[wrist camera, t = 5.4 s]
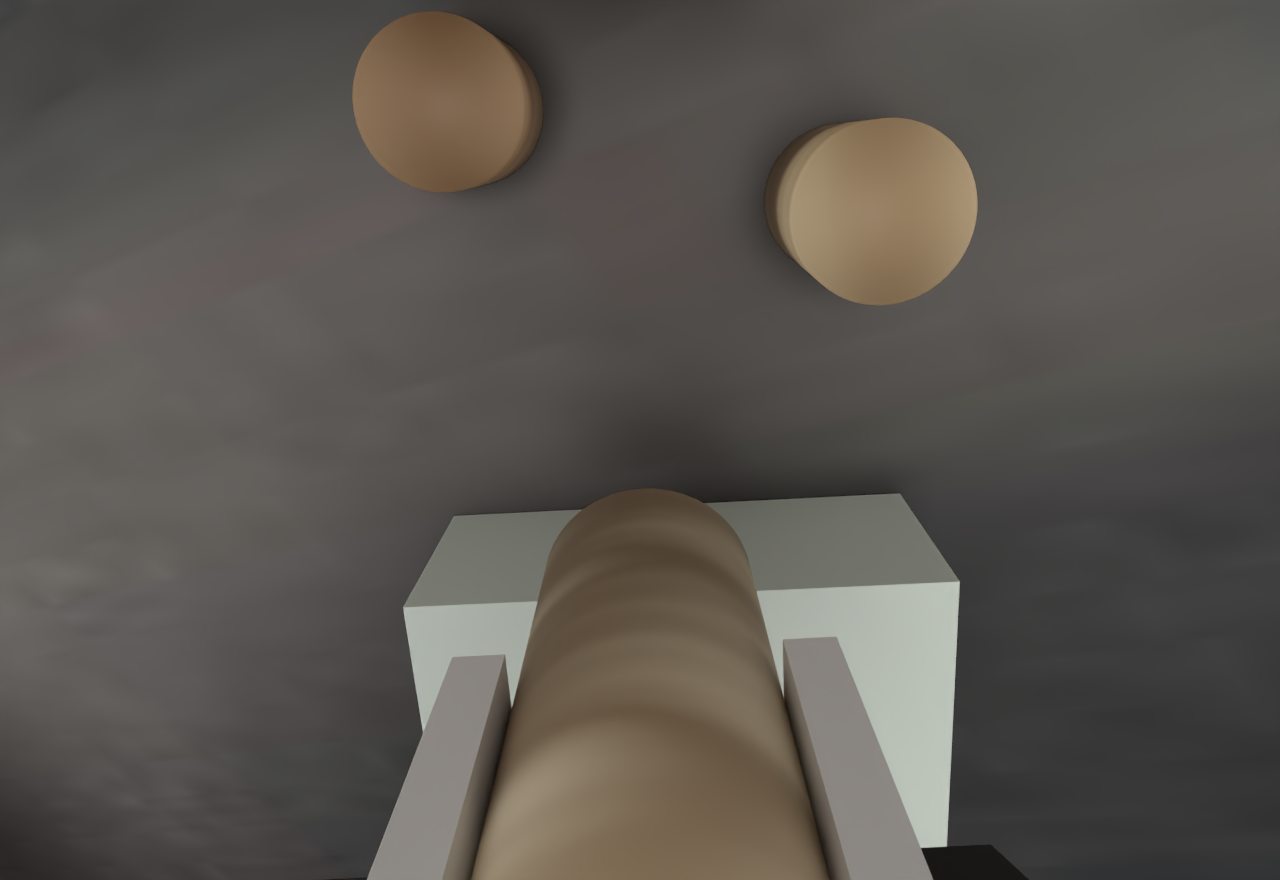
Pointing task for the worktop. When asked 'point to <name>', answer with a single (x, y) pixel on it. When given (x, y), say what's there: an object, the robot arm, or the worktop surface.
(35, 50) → the worktop surface
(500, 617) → the socket block
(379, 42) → the dowel short
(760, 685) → the dowel long
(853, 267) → the dowel mid
